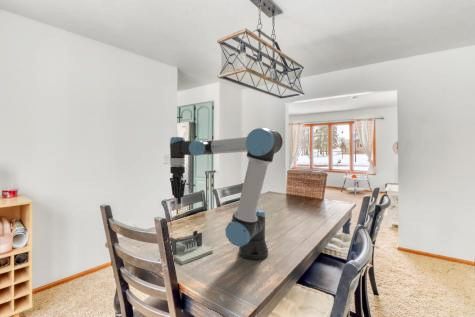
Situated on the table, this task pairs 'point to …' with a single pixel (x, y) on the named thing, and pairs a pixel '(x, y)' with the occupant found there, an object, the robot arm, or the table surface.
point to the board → (192, 254)
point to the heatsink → (187, 246)
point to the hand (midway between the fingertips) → (178, 209)
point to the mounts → (198, 240)
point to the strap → (187, 238)
